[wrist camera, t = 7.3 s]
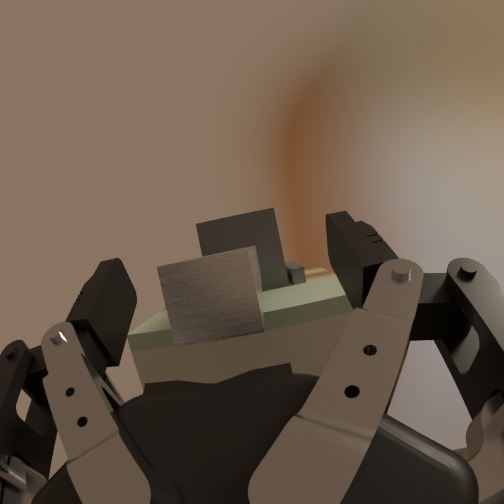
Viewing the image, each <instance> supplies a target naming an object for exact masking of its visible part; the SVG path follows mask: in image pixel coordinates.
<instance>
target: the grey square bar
mask: <svg viewBox="0 0 504 504" xmlns="http://www.w3.org/2000/svg"><path fill="white" fill-rule="evenodd" d="M196 227H197V232H198V237H199V242H200V247H201V252H202V257H199V258H195V259H190V260H185V261H181V262H177V263H173V264H168V265H163V266H159V267H157V269H158V274H159V279H160V283H161V288H162V292H163V296H164V301H165V305H166V309H167V314H168V318H169V322H170V326H171V330H172V334H173V337H174V341H175V345H176V347H177V346H184V345H191V344H198V343H204V342H210V341H217V340H223V339H228V338H234V337H240V336H245V335H251V334H256V333H261V332H265V331H264V315H263V300H262V291H266V290H271V289H276V288H281V287H286V286H289V282H288V277H287V272H286V267H285V262H284V257H283V252H282V247H281V242H280V237H279V232H278V227H277V223H276V218H275V213H274V208H270V209H265V210H260V211H255V212H250V213H245V214H241V215H235V216H231V217H226V218H221V219H217V220H212V221H207V222H203V223H198V224H196Z"/></svg>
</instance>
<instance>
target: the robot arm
mask: <svg viewBox="0 0 504 504" xmlns="http://www.w3.org/2000/svg"><path fill="white" fill-rule="evenodd" d="M326 231H327V245H328V255H329V260H330V263H331V266H332V268H333V270H334V272H335V274H336V276H337V278H338V280H339V282H340V284H341V286H342V288H343V290H344V292H345V294H346V296H347V298H348V300H349V302H350V304H351V306H352V308H353V310H354V312H353V313H352V316H351V318H350V320H349V322H348V324H347V326H346V328H345V330H344V332H343V334H342V336H341V338H340V340H339V342H338V344H337V346H336V348H335V350H334V352H333V354H332V355H331V357H330V359H329V361H328V363H327V365H326V367H325V369H324V370H323V372H322V374H321V376H320V377H319V376H315V375H310V374H302V373H293V372H292V368H291V363H285V364H280V365H275V366H270V367H264V368H259V369H253V370H250V371H248V372H245V373H243V374H240V375H237V376H235V377H232V378H229V379H226V380H224V381H221V382H218V383H213V384H209V383H199V382H189V381H180V380H174V381H164V382H153V383H145V386H144V392H143V395H140V396H137V397H135V398H133V399H131V400H129V401H127V402H126V403H125V402H124V401H123V399H122V397H121V396H120V394H119V393H118V391H117V389H116V388H115V386H114V384H113V382H112V381H111V379H110V377H109V376H108V374H107V373H106V372H105V371H106V368H107V367H114V366H119V364H120V360H121V356H122V353H123V349H124V345H125V342H126V338H127V335H128V331H129V328H130V324H131V321H132V317H133V314H134V311H135V308H136V304H137V296H136V291H135V289H134V286H133V284H132V282H131V280H130V278H129V276H128V274H127V272H126V269H125V267H124V265H123V263H122V261H121V260H120V259H119V258H114V259H110V260H106V261H102V262H100V264H99V265H98V267H97V269H96V271H95V273H94V275H93V276H92V277H91V278H90V279H89V280H88V281H87V282H86V283H85V284H84V286H83V288H82V290H81V291H80V294H79V295H78V297H77V299H76V302H75V303H74V305H73V307H72V309H71V311H70V313H69V315H68V317H67V319H66V321H65V322H61V323H58V324H56V325H54V326H53V327H51V328H50V329H49V330H48V331H47V332H46V333H45V335H44V336H43V338H42V341H41V345H40V346H37V347H35V348H32V349H29V348H28V347H27V345H26V344H25V343H24V342H23V341H22V340H16V341H13V342H11V343H10V344H9V345H7V346H6V347H5V349H4V350H3V351H2V353H1V355H0V504H478V503H479V502H481V501H483V500H485V499H487V498H489V497H490V496H492V495H494V494H496V493H497V492H499V491H501V490H502V489H504V289H503V288H502V286H501V285H500V284H499V283H498V282H497V281H496V279H494V277H493V276H492V275H491V274H490V273H489V271H488V270H487V269H486V268H485V267H484V266H483V265H482V264H480V263H479V262H477V261H475V260H472V259H469V258H457V259H454V260H452V261H451V262H450V263H449V264H448V268H447V273H423V270H422V269H421V267H420V266H419V265H418V264H416V263H414V262H412V261H409V260H406V259H399V258H398V256H397V255H396V254H395V253H394V252H393V250H392V249H391V248H390V247H389V246H388V244H387V243H386V242H385V241H383V238H382V237H381V236H380V235H378V233H377V231H376V230H375V229H374V228H373V227H372V226H371V225H369V224H366V223H364V222H363V221H359V222H355V221H354V220H353V219H352V218H351V216H350V215H349V214H348V213H347V212H346V211H342V212H336V213H331V214H327V215H326ZM414 340H415V341H417V340H434V342H435V344H436V345H437V347H438V349H439V351H440V353H441V355H442V357H443V359H444V361H445V363H446V365H447V367H448V369H449V371H450V373H451V375H452V377H453V379H454V381H455V383H456V385H457V387H458V389H459V391H460V394H461V396H462V398H463V400H464V402H465V405H466V407H467V409H468V412H469V414H470V416H471V418H472V422H471V423H470V425H469V427H468V429H467V432H466V443H467V448H468V454H467V459H466V460H465V459H464V458H463V457H462V456H460V455H459V454H457V453H456V452H454V451H452V450H450V449H448V448H446V447H444V446H443V445H441V444H439V443H437V442H435V441H433V440H431V439H430V438H428V437H426V436H424V435H422V434H421V433H419V432H417V431H415V430H413V429H412V428H410V427H408V426H406V425H405V424H403V423H401V422H399V421H398V420H396V419H394V418H392V417H391V416H389V415H387V412H388V409H389V406H390V404H391V401H392V398H393V395H394V392H395V389H396V386H397V383H398V379H399V377H400V374H401V371H402V367H403V364H404V361H405V358H406V354H407V350H408V347H409V344H410V341H414ZM21 389H22V390H23V391H24V392H25V393H26V394H27V395H28V396H29V397H30V398H31V399H32V400H31V403H30V406H29V410H28V413H27V417H26V420H25V422H24V421H23V420H22V419H21V418H20V417H19V416H18V414H17V411H16V403H17V400H18V397H19V394H20V391H21ZM57 431H58V432H59V435H60V438H61V440H62V443H63V445H64V448H65V451H66V453H67V456H68V461H67V462H66V463H65V464H64V465H63V466H62V467H61V468H60V469H59V470H58V471H57V472H56V473H55V474H54V475H53V476H52V477H51V479H49V473H50V467H51V461H52V456H53V450H54V445H55V441H56V436H57ZM48 479H49V480H48Z"/></svg>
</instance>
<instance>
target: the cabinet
mask: <svg viewBox="0 0 504 504" xmlns="http://www.w3.org/2000/svg"><path fill="white" fill-rule="evenodd" d="M285 267H286V272H287V277H288V282H289V286H286V287H281V288H276V289H271V290H266V291H262V300H263V315H264V331H265V332H261V333H256V334H251V335H245V336H240V337H234V338H228V339H223V340H217V341H210V342H204V343H198V344H191V345H184V346H177V347H176V345H175V341H174V337H173V334H172V330H171V326H170V322H169V318H168V314H167V309H166V308H165V309H164V310H162V311H161V312H159V313H158V314H156V315H155V316H153V317H152V318H151V319H149V320H148V321H146V322H145V323H143V324H142V325H141V326H139V327H138V328H136V329H135V330H133V331H132V332H130V333H129V334H128V335H127V338H128V342H129V345H130V349H131V352H132V356H133V359H134V362H135V366H136V368H137V372H138V375H139V378H140V381H141V384H142V387H143V390H144V386H145V383H153V382H164V381H174V380H180V381H189V382H199V383H209V384H213V383H218V382H221V381H224V380H226V379H229V378H232V377H235V376H237V375H240V374H243V373H245V372H248V371H250V370H253V369H259V368H264V367H270V366H275V365H280V364H285V363H291V368H292V372H293V373H302V374H310V375H315V376H319V377H320V376H321V374H322V372H323V370H324V369H325V367H326V365H327V363H328V361H329V359H330V357H331V355H332V354H333V352H334V350H335V348H336V346H337V344H338V342H339V340H340V338H341V336H342V334H343V332H344V330H345V328H346V326H347V324H348V322H349V320H350V318H351V316H352V313H353V312H354V310H353V308H352V306H351V304H350V302H349V300H348V298H347V296H346V294H345V292H344V290H343V288H342V286H341V284H340V282H339V280H338V278H337V276H336V274H335V273H333V272H331V271H328V270H326V269H323V268H320V267H316V268H312V269H307V270H304V267H303V266H301V265H299V264H297V263H295V262H293V261H290V262H286V263H285Z"/></svg>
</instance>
